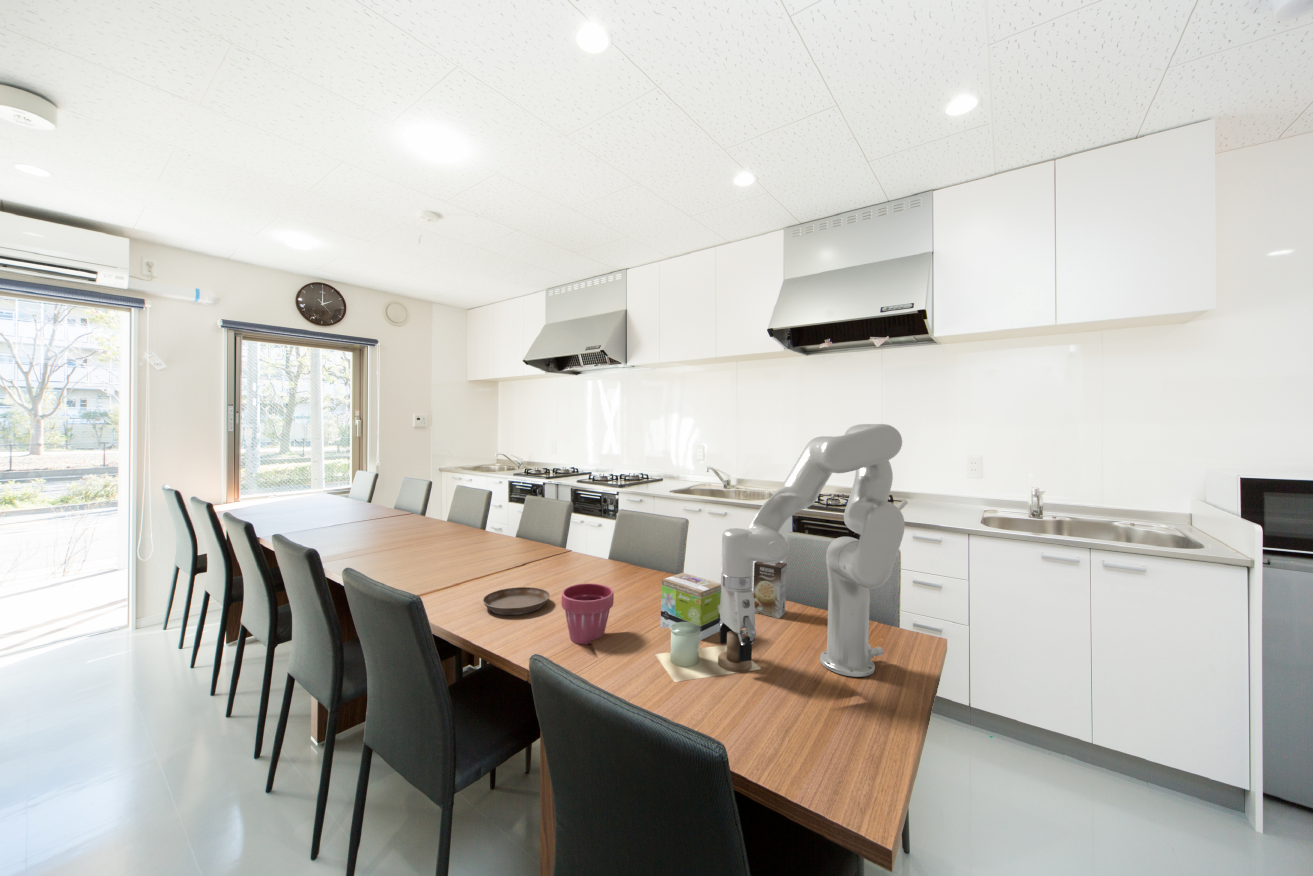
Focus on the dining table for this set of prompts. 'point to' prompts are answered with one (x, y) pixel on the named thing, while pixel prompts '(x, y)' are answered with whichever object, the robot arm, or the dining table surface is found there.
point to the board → (699, 665)
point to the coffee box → (770, 588)
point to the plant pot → (587, 610)
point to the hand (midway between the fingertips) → (734, 651)
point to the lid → (733, 655)
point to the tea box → (691, 603)
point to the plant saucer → (516, 600)
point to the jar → (685, 644)
